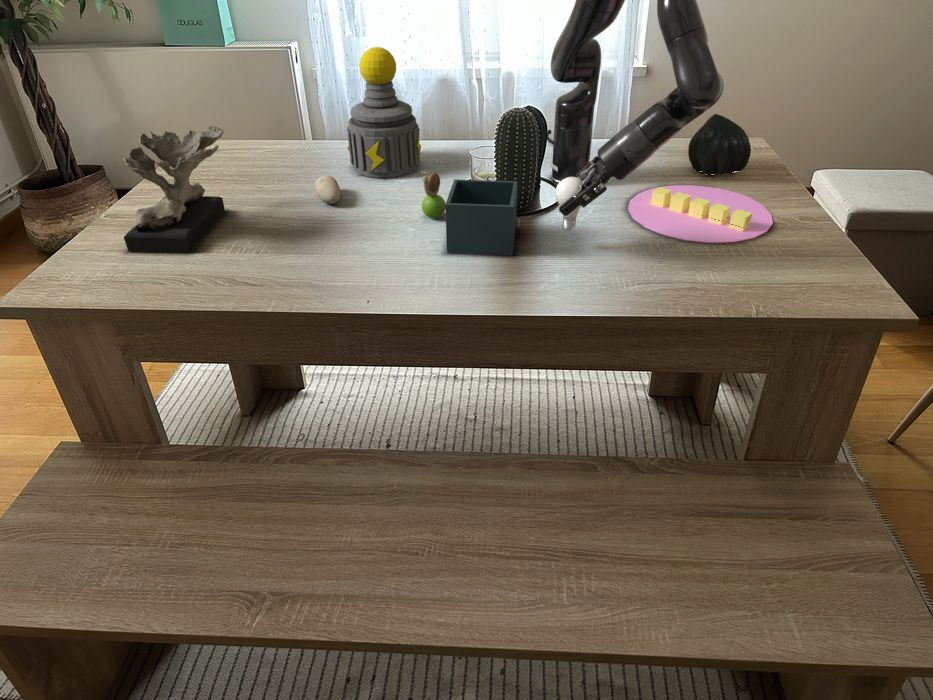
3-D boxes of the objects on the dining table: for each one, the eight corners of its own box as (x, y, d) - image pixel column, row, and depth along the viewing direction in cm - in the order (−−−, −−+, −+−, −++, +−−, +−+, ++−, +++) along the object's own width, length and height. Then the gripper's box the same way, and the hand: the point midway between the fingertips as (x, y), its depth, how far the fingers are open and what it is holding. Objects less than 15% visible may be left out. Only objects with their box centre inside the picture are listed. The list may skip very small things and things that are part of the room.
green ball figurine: (415, 221, 159) (412, 170, 152) (429, 210, 163) (427, 160, 157) (436, 225, 157) (434, 174, 150) (450, 215, 161) (448, 164, 154)
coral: (175, 204, 168) (151, 114, 156) (257, 206, 167) (240, 115, 154) (124, 251, 148) (92, 152, 136) (217, 255, 146) (193, 154, 134)
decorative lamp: (361, 153, 196) (349, 38, 179) (427, 156, 194) (421, 39, 177) (342, 178, 181) (327, 55, 164) (413, 181, 179) (406, 56, 162)
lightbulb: (564, 238, 141) (568, 186, 135) (547, 226, 146) (549, 175, 139) (590, 231, 143) (595, 179, 137) (572, 220, 148) (576, 169, 142)
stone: (321, 200, 162) (303, 171, 169) (330, 218, 168) (312, 189, 174) (343, 189, 163) (324, 160, 169) (352, 207, 168) (333, 178, 175)
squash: (760, 164, 170) (755, 106, 172) (697, 167, 170) (693, 109, 172) (740, 185, 184) (735, 130, 186) (682, 188, 185) (678, 133, 186)
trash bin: (455, 225, 157) (454, 179, 150) (516, 227, 155) (517, 181, 149) (446, 253, 146) (445, 204, 139) (512, 256, 144) (513, 206, 138)
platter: (732, 257, 142) (736, 242, 140) (600, 214, 160) (602, 200, 158) (796, 209, 161) (800, 195, 159) (671, 175, 179) (673, 163, 177)
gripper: (614, 123, 138) (550, 179, 146) (617, 148, 126) (548, 207, 135) (638, 150, 141) (574, 203, 149) (643, 177, 129) (574, 233, 137)
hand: (562, 205), depth 142 cm, fingers closed on lightbulb, 6 cm apart
